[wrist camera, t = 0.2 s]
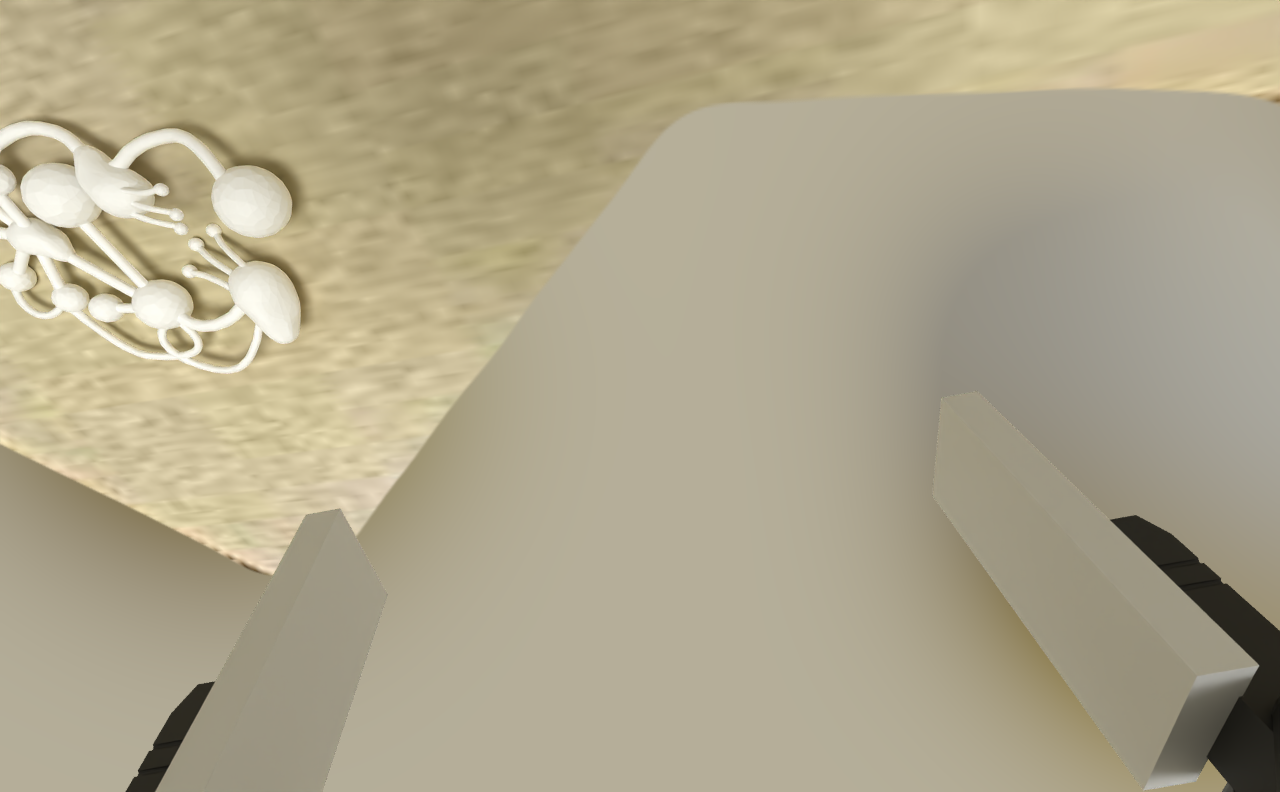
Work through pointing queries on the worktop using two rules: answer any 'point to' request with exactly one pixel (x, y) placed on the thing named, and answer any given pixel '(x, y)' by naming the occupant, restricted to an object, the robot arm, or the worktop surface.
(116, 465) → the worktop surface
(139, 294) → the tangled rod sculpture
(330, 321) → the worktop surface
